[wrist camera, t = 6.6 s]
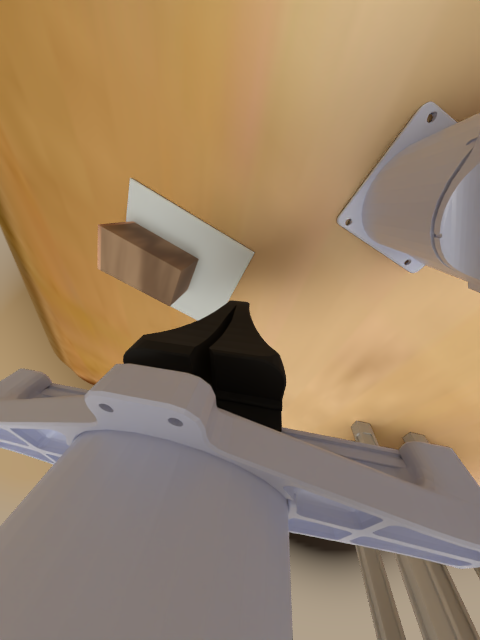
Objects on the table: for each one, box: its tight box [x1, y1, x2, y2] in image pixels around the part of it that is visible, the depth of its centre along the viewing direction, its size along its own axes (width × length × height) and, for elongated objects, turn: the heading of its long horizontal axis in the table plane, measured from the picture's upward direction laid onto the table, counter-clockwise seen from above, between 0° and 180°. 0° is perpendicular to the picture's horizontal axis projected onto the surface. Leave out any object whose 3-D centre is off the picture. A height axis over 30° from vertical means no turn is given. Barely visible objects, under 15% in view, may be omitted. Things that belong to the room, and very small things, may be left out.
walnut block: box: [98, 221, 199, 306], centre depth 19 cm, size 4×4×8 cm
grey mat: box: [126, 178, 255, 320], centre depth 21 cm, size 14×12×1 cm
